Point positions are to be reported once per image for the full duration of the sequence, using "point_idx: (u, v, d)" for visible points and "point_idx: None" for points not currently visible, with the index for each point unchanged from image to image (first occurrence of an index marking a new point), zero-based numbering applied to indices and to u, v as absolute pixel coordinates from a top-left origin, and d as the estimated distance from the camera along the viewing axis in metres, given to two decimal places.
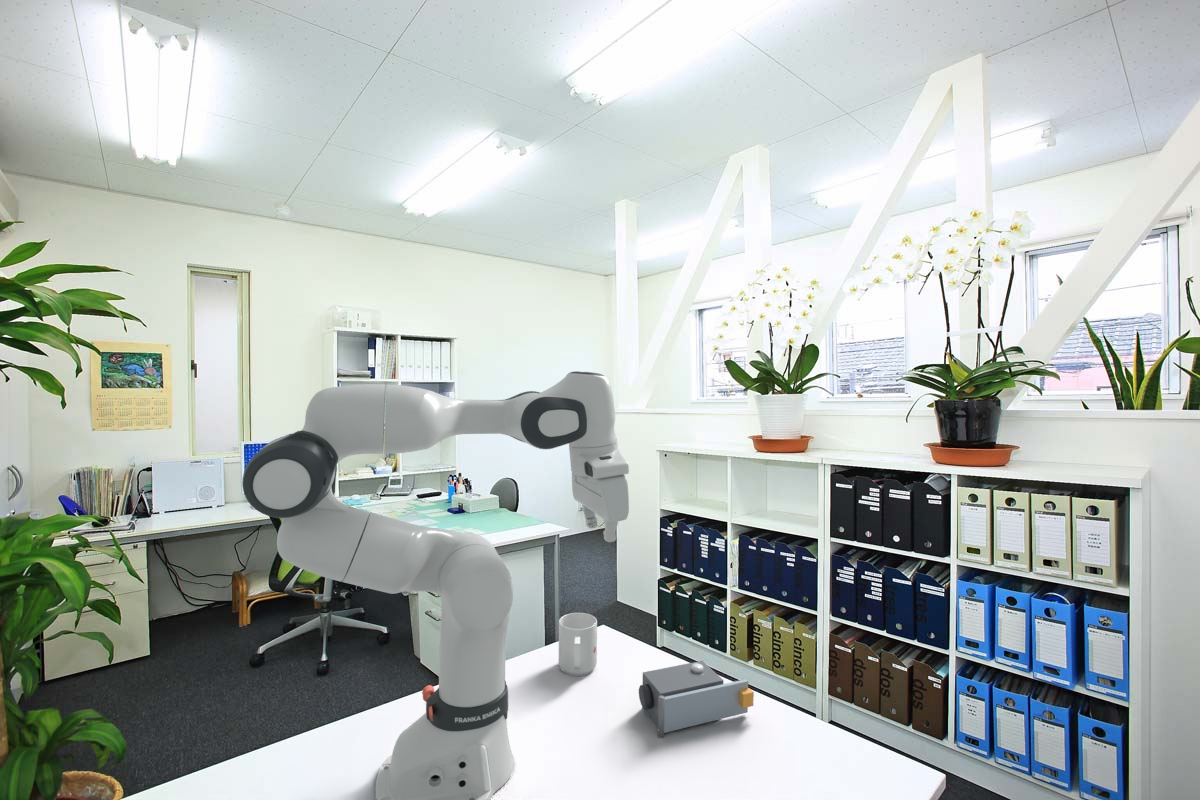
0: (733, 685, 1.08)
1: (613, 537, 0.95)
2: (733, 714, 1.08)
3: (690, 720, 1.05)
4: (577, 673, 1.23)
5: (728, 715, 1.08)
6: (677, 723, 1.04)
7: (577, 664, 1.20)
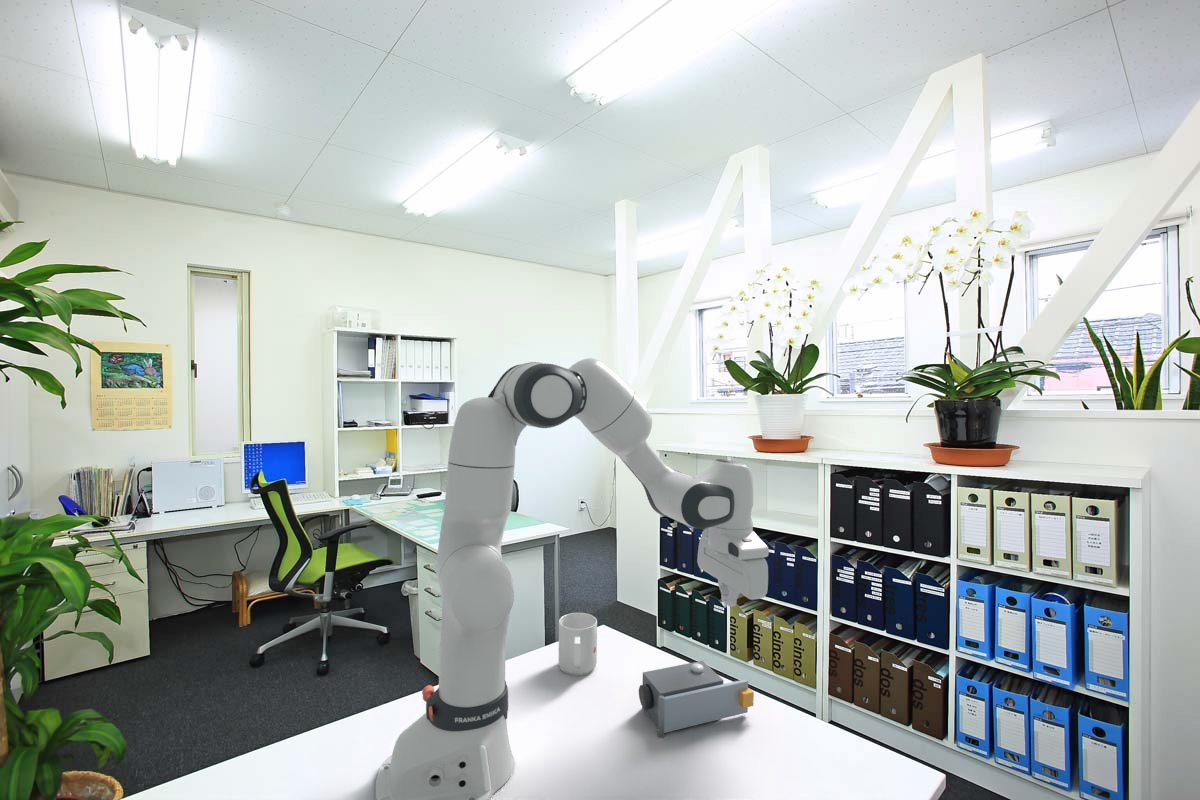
0: (733, 685, 1.08)
1: (734, 603, 1.12)
2: (733, 714, 1.08)
3: (690, 720, 1.05)
4: (577, 673, 1.23)
5: (728, 715, 1.08)
6: (677, 723, 1.04)
7: (577, 664, 1.20)
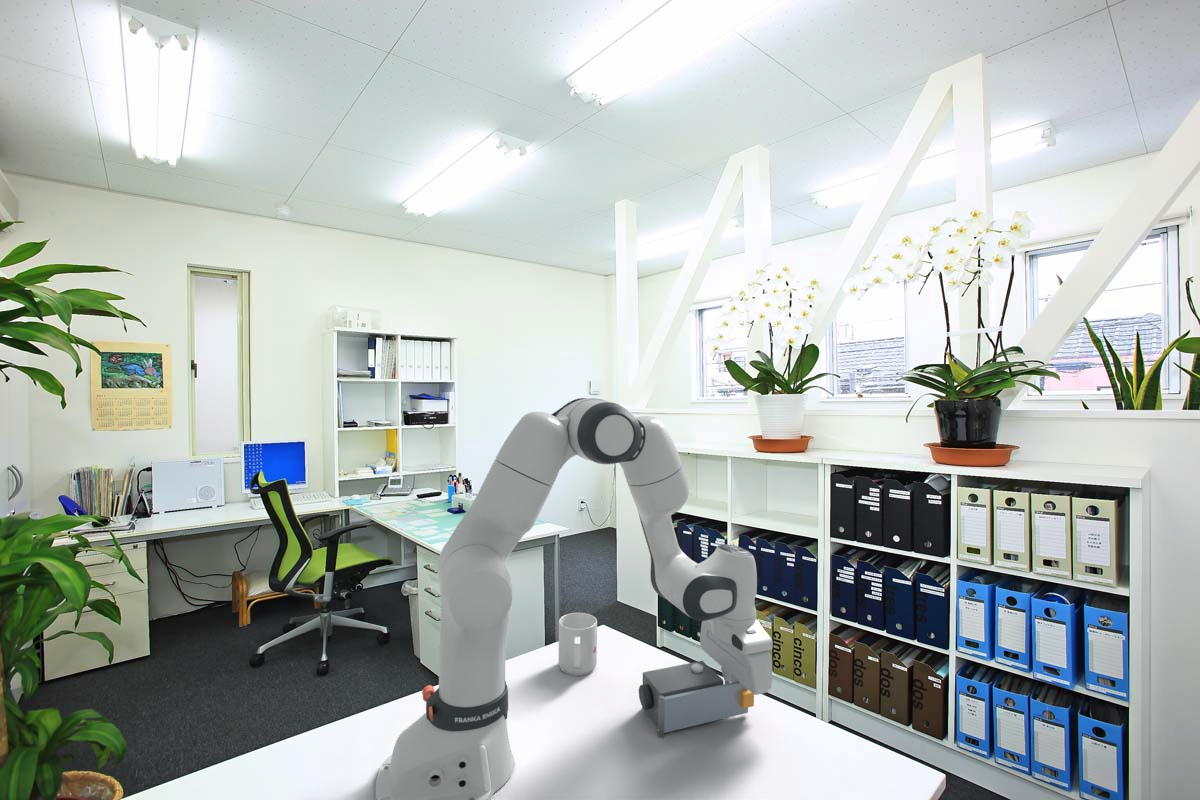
0: (733, 685, 1.08)
1: None
2: (733, 714, 1.08)
3: (690, 720, 1.05)
4: (577, 673, 1.23)
5: (728, 715, 1.08)
6: (677, 723, 1.04)
7: (577, 664, 1.20)
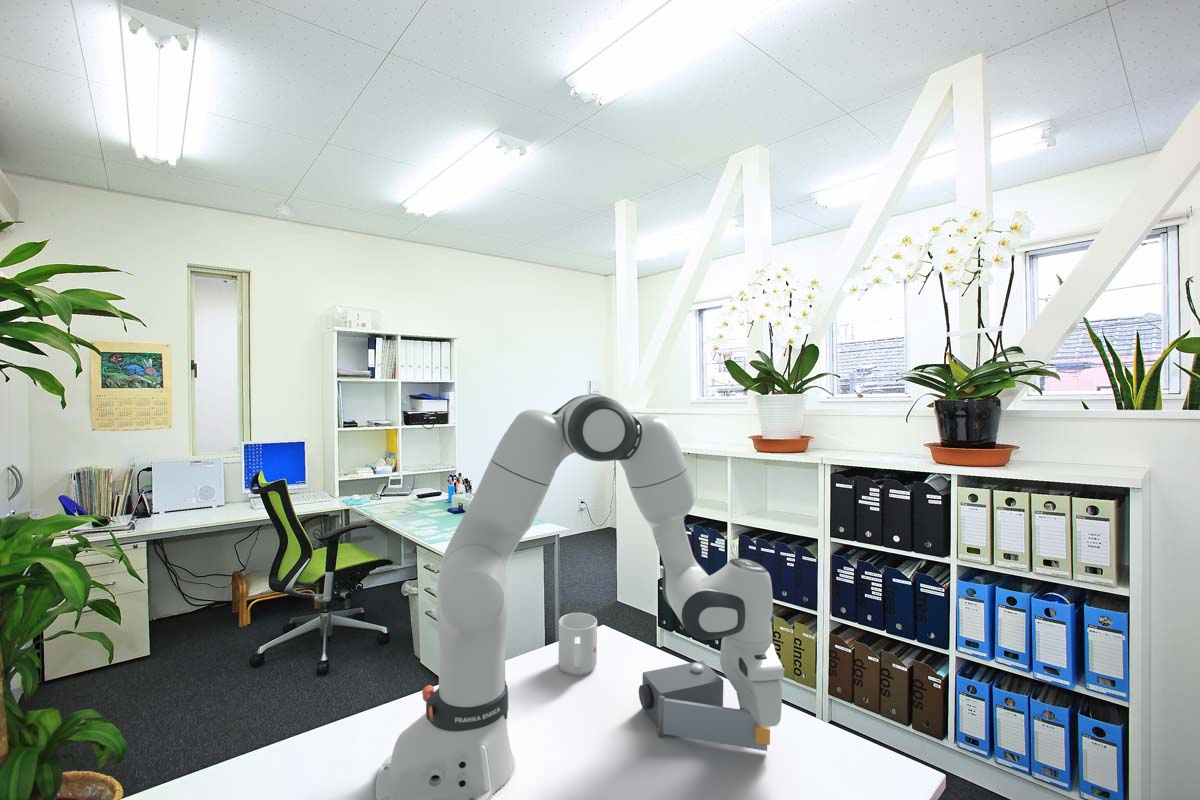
0: (747, 713, 0.99)
1: None
2: (747, 746, 0.99)
3: (693, 732, 1.01)
4: (577, 673, 1.23)
5: (741, 745, 0.99)
6: (678, 730, 1.02)
7: (577, 664, 1.20)
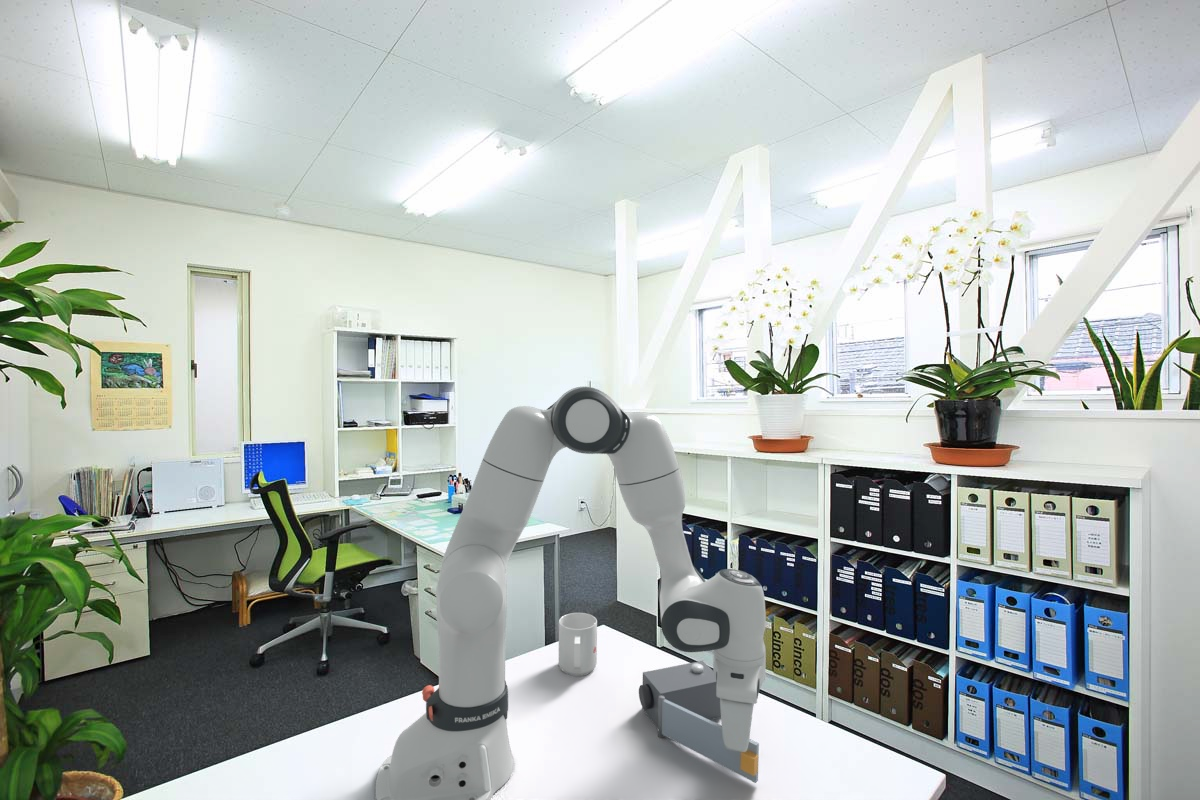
0: None
1: None
2: (737, 771, 0.93)
3: (687, 741, 0.99)
4: (577, 673, 1.23)
5: (731, 768, 0.93)
6: (675, 734, 1.01)
7: (577, 664, 1.20)
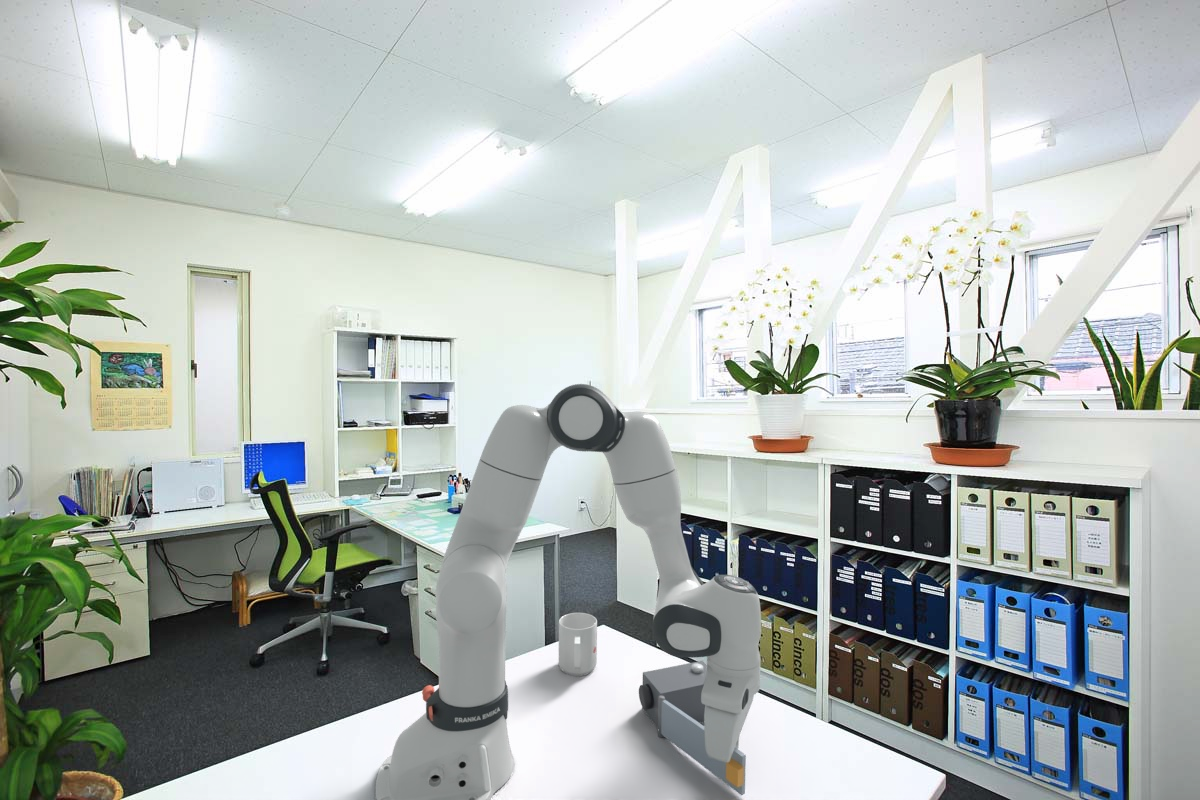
0: None
1: None
2: (725, 781, 0.90)
3: (682, 744, 0.98)
4: (577, 673, 1.23)
5: (719, 777, 0.91)
6: (672, 736, 1.00)
7: (577, 664, 1.20)
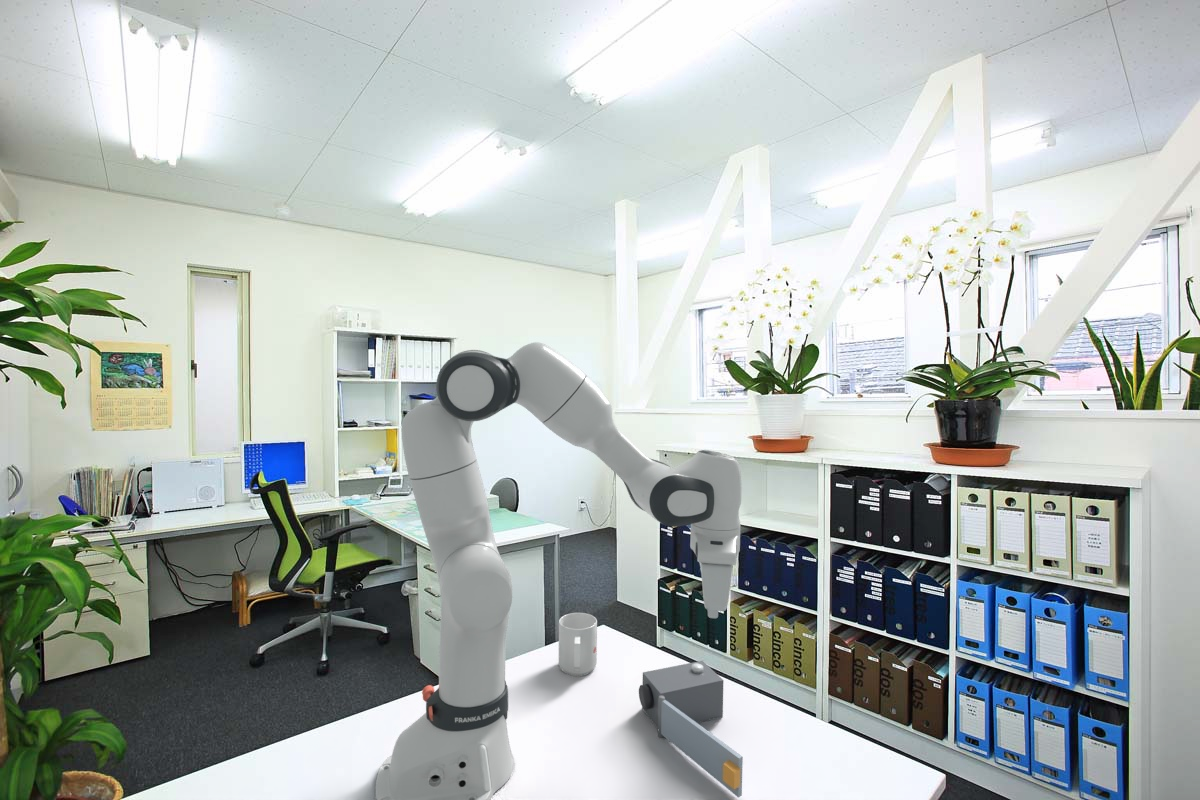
0: (722, 746, 0.90)
1: (715, 614, 0.98)
2: (722, 782, 0.90)
3: (681, 744, 0.98)
4: (577, 673, 1.23)
5: (717, 778, 0.91)
6: (671, 736, 1.00)
7: (577, 664, 1.20)
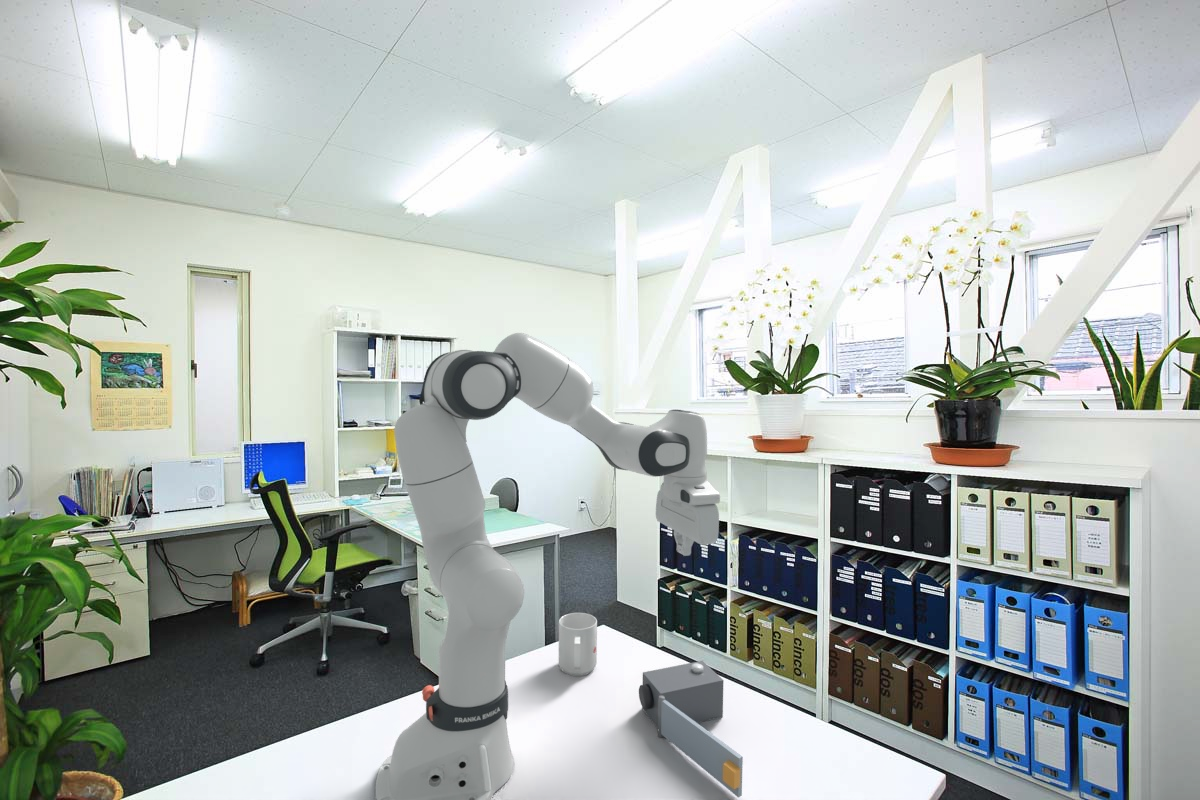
0: (722, 746, 0.90)
1: (689, 552, 1.13)
2: (722, 782, 0.90)
3: (681, 744, 0.98)
4: (577, 673, 1.23)
5: (717, 778, 0.91)
6: (671, 736, 1.00)
7: (577, 664, 1.20)
